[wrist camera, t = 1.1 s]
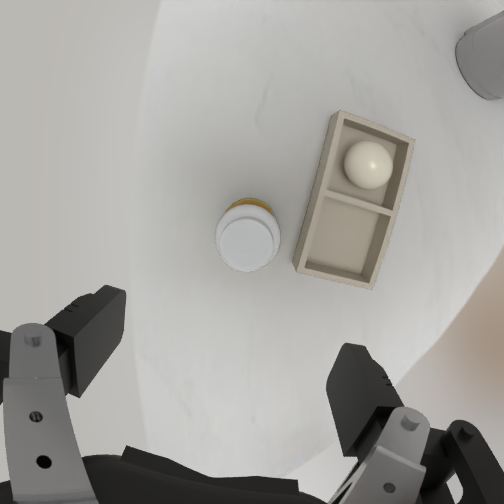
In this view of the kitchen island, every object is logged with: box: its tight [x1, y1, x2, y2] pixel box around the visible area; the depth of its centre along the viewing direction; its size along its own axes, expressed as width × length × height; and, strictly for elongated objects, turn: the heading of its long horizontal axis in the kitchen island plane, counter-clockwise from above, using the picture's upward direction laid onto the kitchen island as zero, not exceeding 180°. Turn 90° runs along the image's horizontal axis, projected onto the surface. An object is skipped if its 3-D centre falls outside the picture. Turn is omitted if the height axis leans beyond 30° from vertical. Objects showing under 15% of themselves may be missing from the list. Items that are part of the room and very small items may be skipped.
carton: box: [293, 110, 415, 290], centre depth 29 cm, size 16×8×4 cm, turn 166°
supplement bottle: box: [215, 198, 280, 272], centre depth 27 cm, size 5×5×10 cm
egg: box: [344, 140, 393, 190], centre depth 27 cm, size 5×5×5 cm
